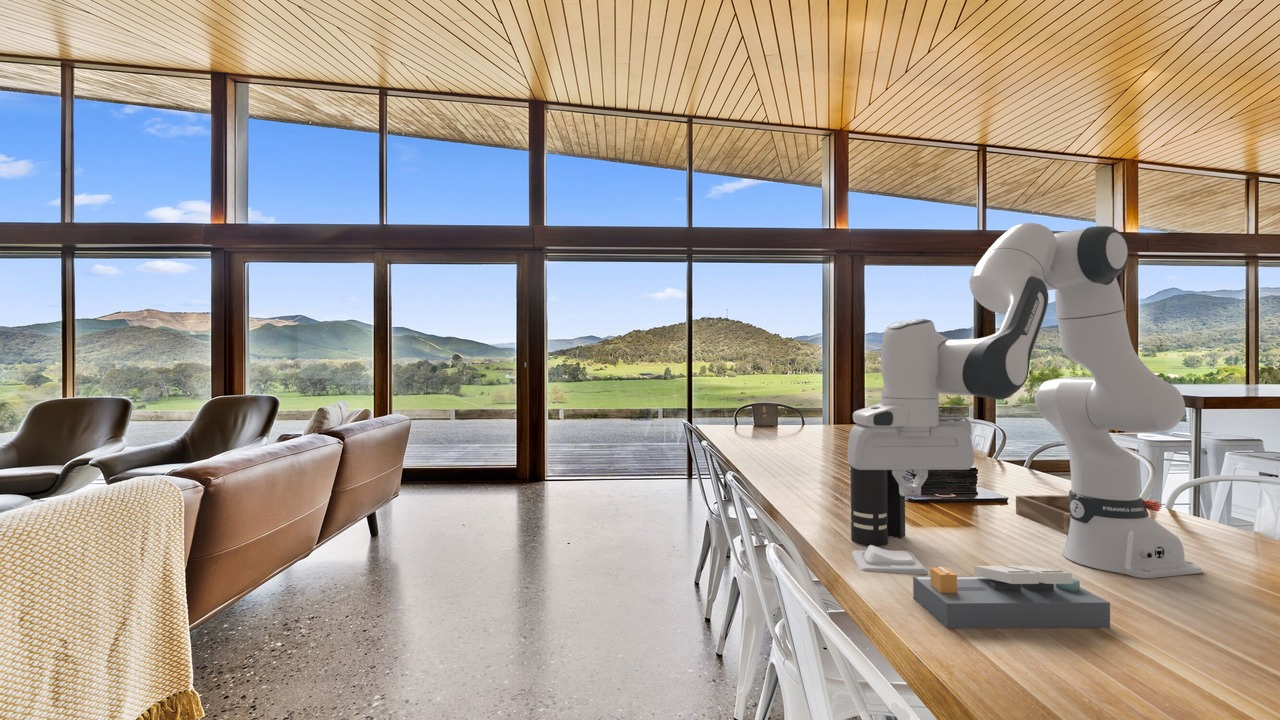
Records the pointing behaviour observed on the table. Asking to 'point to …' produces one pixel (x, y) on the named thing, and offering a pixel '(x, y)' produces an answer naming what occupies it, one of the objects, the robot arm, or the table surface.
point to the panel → (1011, 605)
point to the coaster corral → (1046, 510)
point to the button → (1070, 586)
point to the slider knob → (943, 580)
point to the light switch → (888, 561)
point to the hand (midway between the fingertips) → (910, 495)
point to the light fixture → (876, 507)
